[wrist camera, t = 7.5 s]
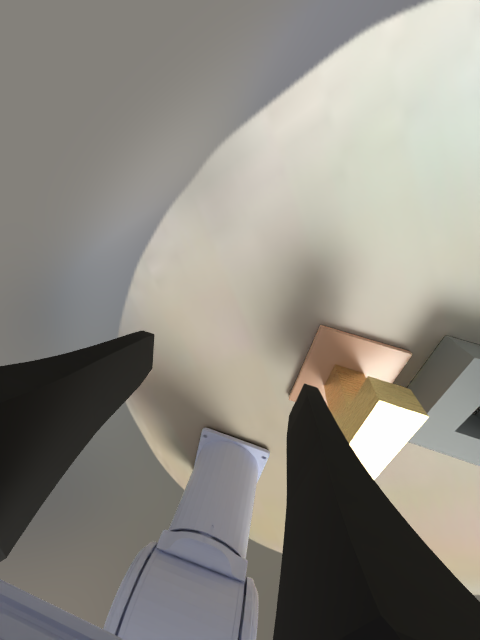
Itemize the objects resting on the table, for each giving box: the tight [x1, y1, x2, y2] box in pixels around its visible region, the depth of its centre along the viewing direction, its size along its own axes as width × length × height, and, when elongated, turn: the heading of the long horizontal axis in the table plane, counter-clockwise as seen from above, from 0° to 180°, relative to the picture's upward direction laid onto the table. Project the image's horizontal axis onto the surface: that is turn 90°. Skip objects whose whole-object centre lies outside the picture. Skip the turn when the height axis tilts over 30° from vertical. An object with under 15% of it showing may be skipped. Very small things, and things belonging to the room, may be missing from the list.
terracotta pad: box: [289, 325, 412, 404], centre depth 19 cm, size 8×7×1 cm
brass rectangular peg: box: [324, 364, 429, 479], centre depth 16 cm, size 8×2×7 cm, turn 167°
